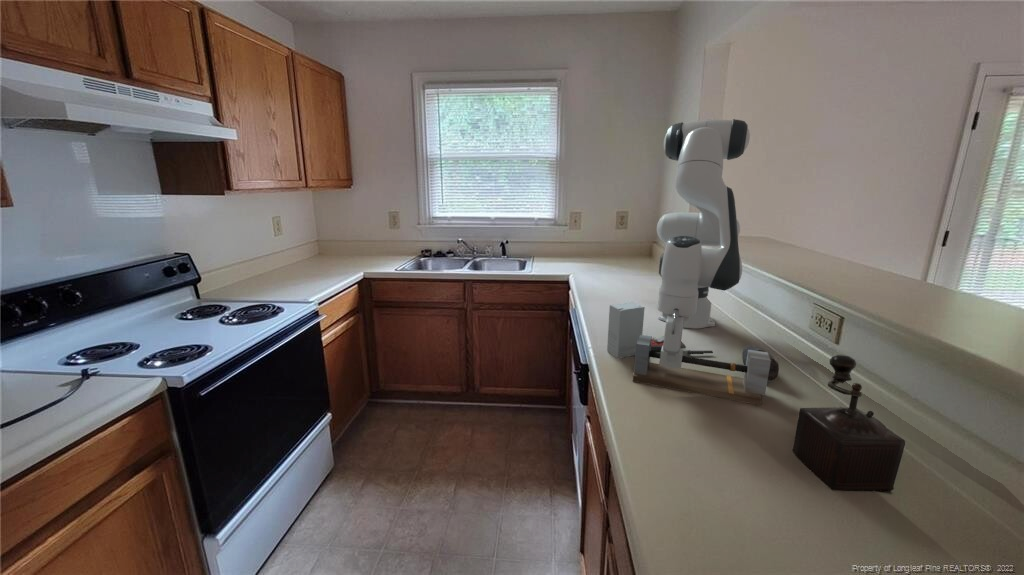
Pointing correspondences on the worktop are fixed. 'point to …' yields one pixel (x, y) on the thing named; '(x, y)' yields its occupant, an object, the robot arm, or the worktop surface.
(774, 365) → the perforated stone tool
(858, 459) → the manual coffee grinder
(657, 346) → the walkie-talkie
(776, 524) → the worktop surface
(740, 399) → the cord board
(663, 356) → the sleeve
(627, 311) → the skincare box
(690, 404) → the worktop surface
